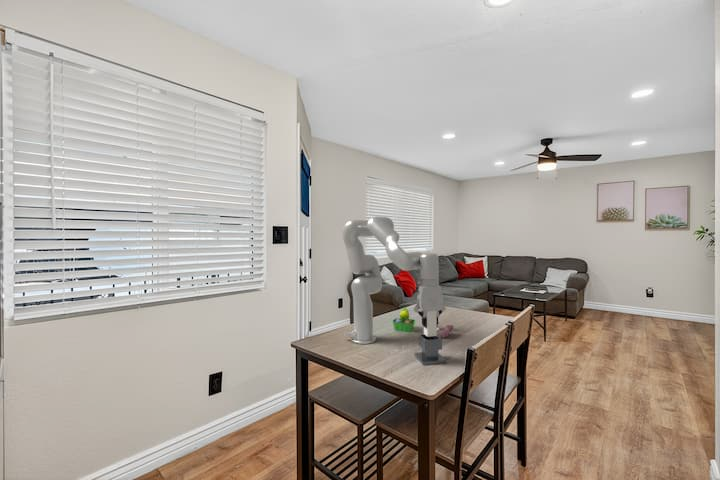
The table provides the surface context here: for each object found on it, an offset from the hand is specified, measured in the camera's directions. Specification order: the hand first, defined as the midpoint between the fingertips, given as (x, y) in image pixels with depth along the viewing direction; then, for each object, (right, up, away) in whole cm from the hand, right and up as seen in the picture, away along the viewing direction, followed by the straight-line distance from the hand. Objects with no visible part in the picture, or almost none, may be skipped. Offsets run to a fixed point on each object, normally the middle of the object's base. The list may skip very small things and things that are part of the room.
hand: (430, 325), depth 131 cm
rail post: (0, -4, 0) cm, 4 cm away
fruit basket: (-5, -13, +41) cm, 44 cm away
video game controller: (+15, -14, +29) cm, 36 cm away
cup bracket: (0, -14, 0) cm, 14 cm away
